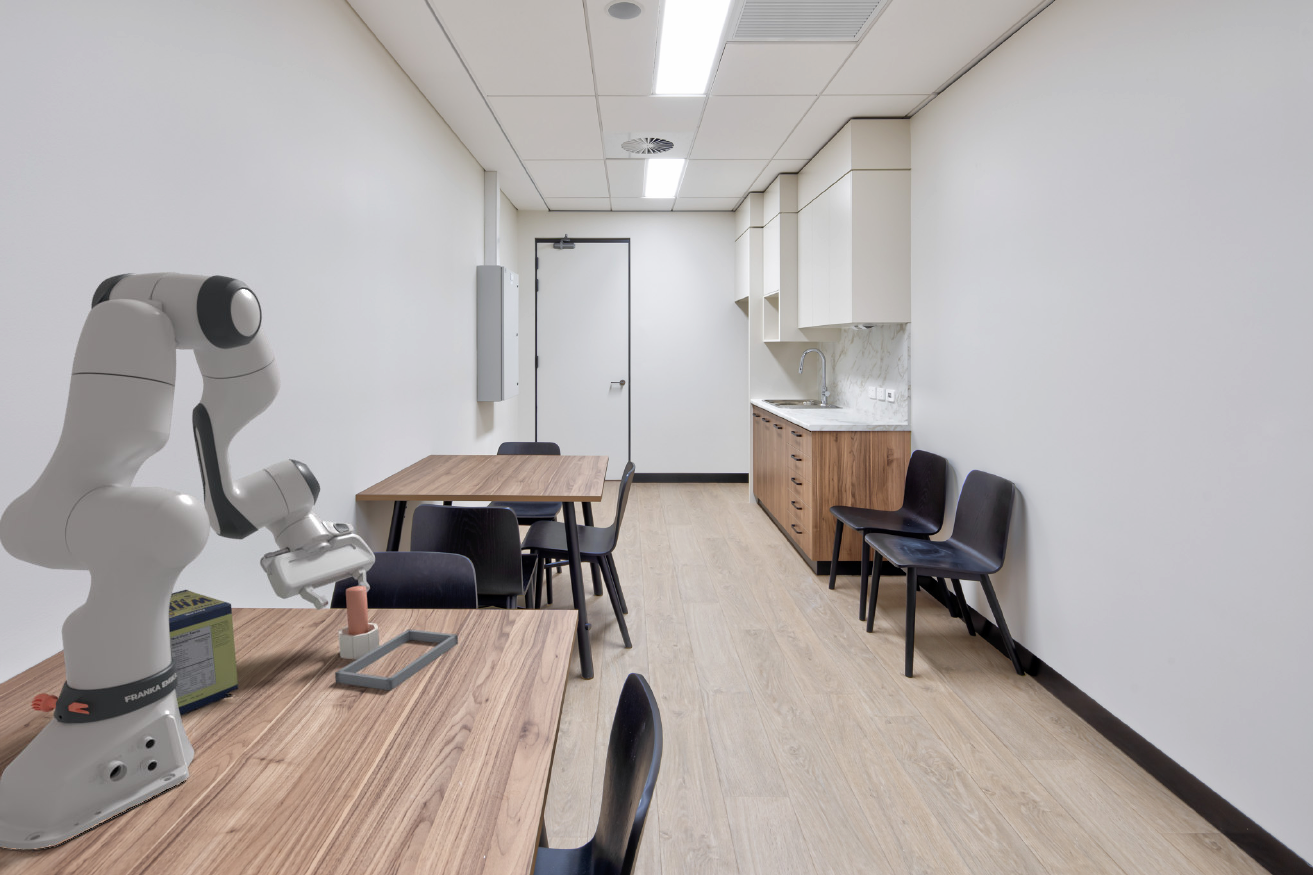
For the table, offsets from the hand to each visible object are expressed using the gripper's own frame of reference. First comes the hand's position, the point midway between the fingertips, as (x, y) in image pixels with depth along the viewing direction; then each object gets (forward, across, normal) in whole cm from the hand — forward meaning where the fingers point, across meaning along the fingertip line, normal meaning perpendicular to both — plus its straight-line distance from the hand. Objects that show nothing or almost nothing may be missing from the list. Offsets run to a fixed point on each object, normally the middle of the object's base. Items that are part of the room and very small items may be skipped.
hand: (345, 598), depth 131 cm
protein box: (0, -24, +15) cm, 28 cm away
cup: (+10, 0, +5) cm, 11 cm away
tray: (+17, 0, -2) cm, 17 cm away
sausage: (+9, 0, +5) cm, 10 cm away
